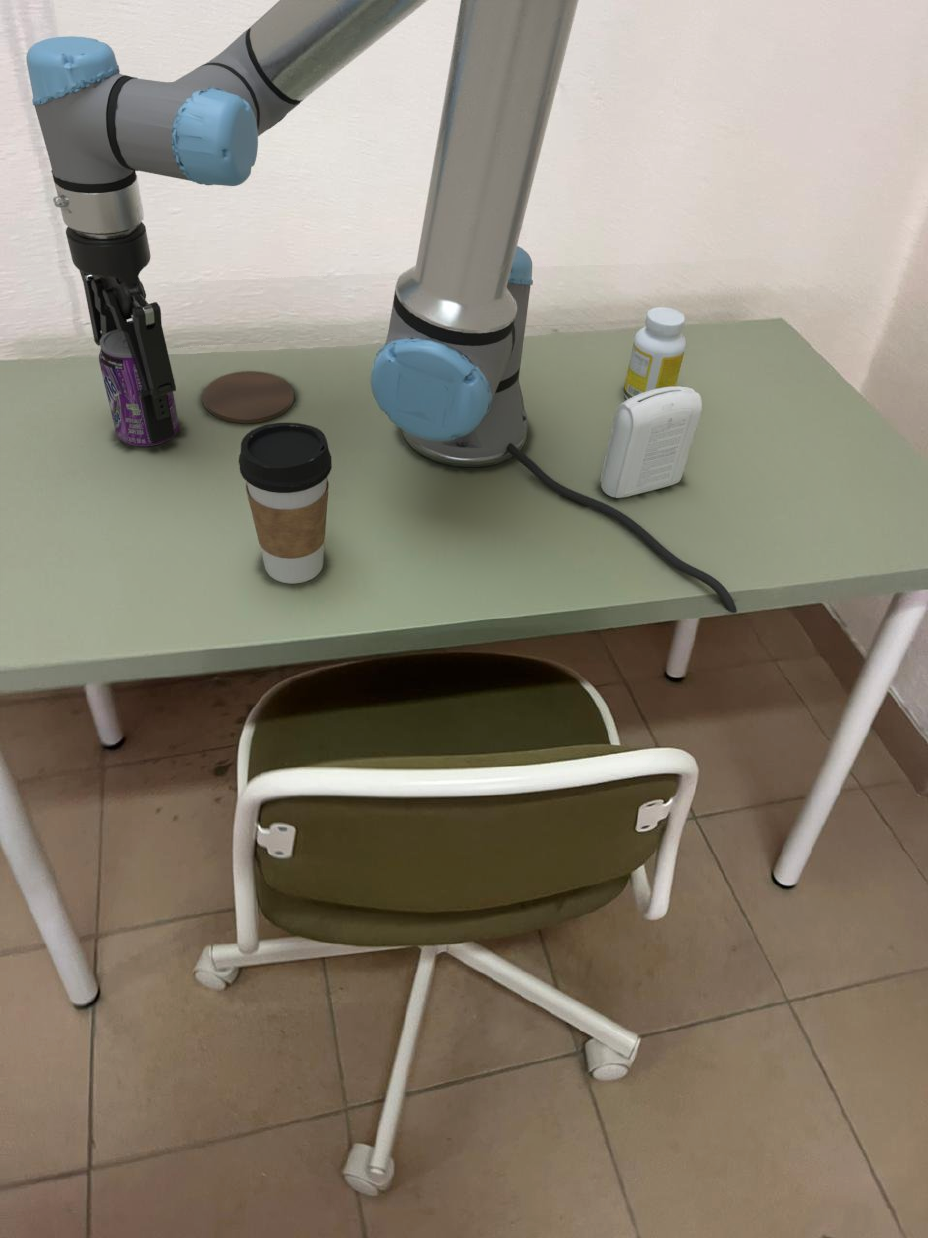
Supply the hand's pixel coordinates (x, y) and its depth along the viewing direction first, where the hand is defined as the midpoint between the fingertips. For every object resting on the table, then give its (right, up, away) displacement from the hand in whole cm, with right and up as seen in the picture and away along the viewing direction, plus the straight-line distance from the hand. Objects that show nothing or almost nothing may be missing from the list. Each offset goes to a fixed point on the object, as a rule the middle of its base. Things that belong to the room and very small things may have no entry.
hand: (146, 422), depth 106 cm
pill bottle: (+61, +6, +15) cm, 63 cm away
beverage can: (0, -1, +1) cm, 2 cm away
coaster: (+10, +5, +8) cm, 14 cm away
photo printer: (+58, -7, +1) cm, 58 cm away
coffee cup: (+20, -17, -13) cm, 29 cm away
